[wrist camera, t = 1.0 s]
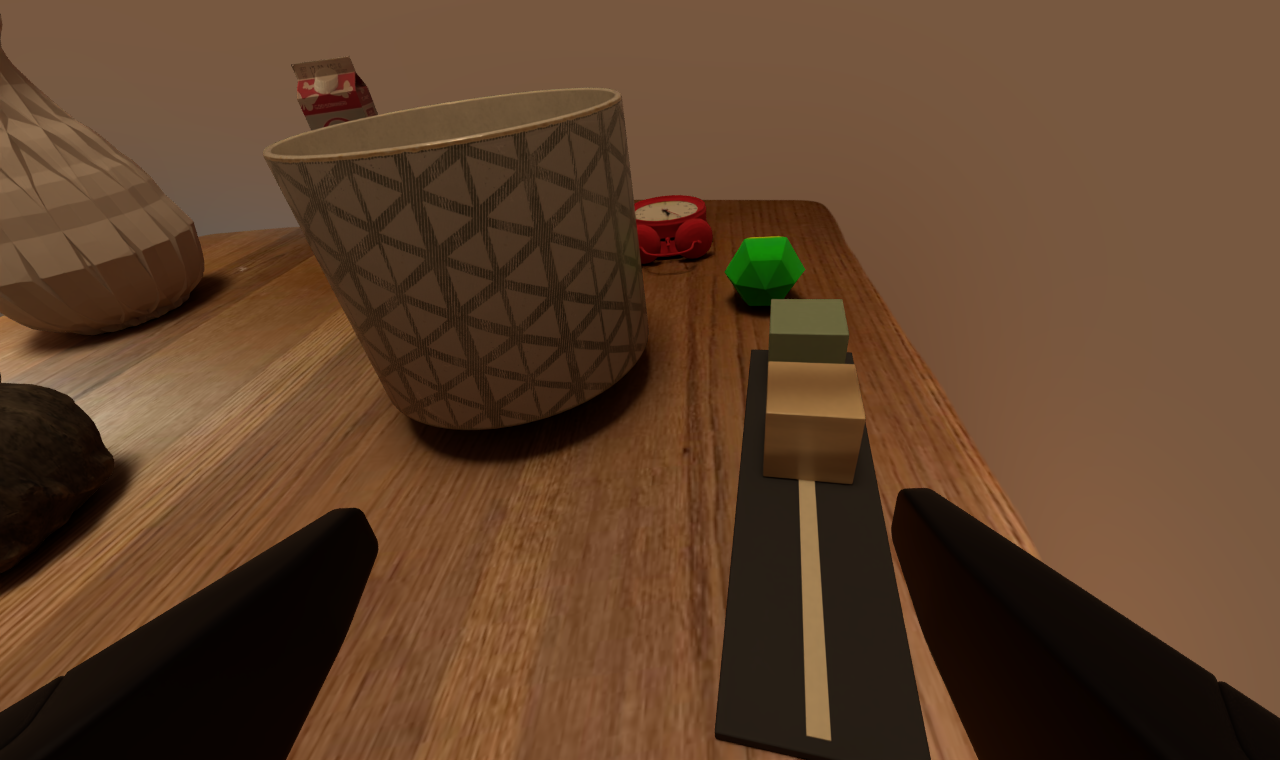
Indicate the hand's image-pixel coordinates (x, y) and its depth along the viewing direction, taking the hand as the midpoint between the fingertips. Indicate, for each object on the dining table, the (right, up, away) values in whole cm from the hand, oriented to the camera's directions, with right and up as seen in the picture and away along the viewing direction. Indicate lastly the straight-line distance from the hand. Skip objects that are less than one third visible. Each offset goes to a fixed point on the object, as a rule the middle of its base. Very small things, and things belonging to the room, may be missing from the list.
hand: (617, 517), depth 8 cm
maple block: (+10, -2, +19) cm, 22 cm away
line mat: (+9, -3, +18) cm, 21 cm away
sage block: (+11, +3, +25) cm, 28 cm away
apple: (+12, +10, +37) cm, 40 cm away
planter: (-8, +2, +30) cm, 31 cm away
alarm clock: (+4, +17, +49) cm, 52 cm away
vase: (-60, +10, +51) cm, 79 cm away
